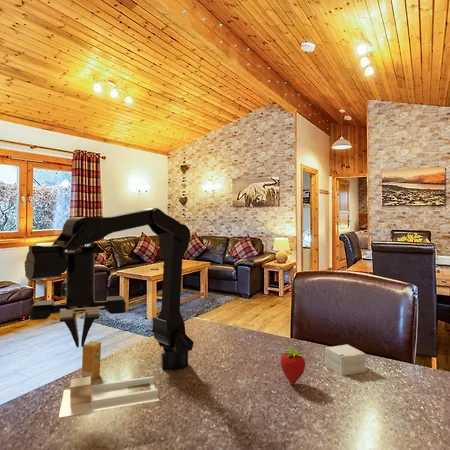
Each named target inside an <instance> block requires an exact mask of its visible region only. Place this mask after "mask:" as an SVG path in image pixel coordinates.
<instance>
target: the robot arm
mask: <svg viewBox="0 0 450 450" xmlns="http://www.w3.org/2000/svg"><path fill="white" fill-rule="evenodd" d="M144 226H148V227H149V228H150V230H151V231H152V232H153V234H155V235H156V236H158V244H159V248H160V250H161V252H162V254H163V271H162V274H163V275H162V288H161V291H162V292H161V310H160V312H159V314H158V315H157V317H156V316H153V317H152V328H151V333H153V338H154V339H155V340H156V342H157V343H158V346H159V347H161V348H162V353H161V354H160V367H161V370H165V371H167V370H169V371H179V370H183V369H185V368H188V367H189V352H190V351H192V350H193V346H194V344H195V343H194V340H192V339H191V337H189V335H187V334H186V324H185V320H184V318H183V315H182V313H181V297H182V296H181V295H182V274H183V259H184V258H183V257H184V256H185V253H186V252H187V251H188V249H189V246H190V240H191V230H190V228H188V226H187V225H186V224H183V223H181V222H180V221H178V220H176V219H175V218H173V217H172V216H170V215H167V214H166V213H165V212H164V211H163V210H161V208H159V207H150V208H149V207H148V208H144V209H142V210H137V211H136V210H135V211H131V212H123V213H120V214H114V215H109V216H105V217H102V216H101V217H100V216H99V217H98V216H97V217H96V216H94V217H93V216H92V217H91V216H86V217H85V216H81V217H80V216H76V217H75V216H73V217H70V218H67V219H66V220H65V222H64V223H63V226H62V232H61V233H60V234H59V235H58V237H57V238H56V239H55V240H54V241H53V243H52V244H51V245H37V244H31V245H28V252H27V253H26V257H25V260H24V271H25V276H26V278H27V280H28V281H31V280H32V281H33V280H44V279H52V278H53V279H54V278H60V277H62V274H65V282H61V285H60V297H61V298H65V303H55V300H54V299H46V300H36V301H35V302H34V303H33V304H32V305H31V307H30V309H29V320H30V321H39V320H47V319H48V318H50V317H51V316H52V314H59V315H60V316H59V322H60V323H64V324H65V325H66V326H67V329H68V330H69V332H70V335H71V336H72V339H73V341H74V344H75V346H76V348H79V347H80V345H81V348H83V346H84V344H86V340H87V337H88V335H89V334H88V333H89V332H90V329H91V327H92V325H93V323H94V321H95V320H98V319H100V312H101V311H103V310H106V311H107V313H109V314H110V315H115V314H116V315H117V314H125V313H126V312H127V309H126V308H127V307H126V306H127V303H126V299H125V298H124V297H123V296H122V295H113V296H106V300H100V301H96V300H95V299H96V296H95V293H96V291H95V289H96V288H95V257H96V256H95V254H104V253H105V249H103V248H102V247H101V246H100V245H99V244H98V242H97V241H100V240H102V239H104V238H105V237H107V236H108V235H111V234H113V233H117V232H118V233H119V232H123V231H125V230H130V229H136V228H140V227H144ZM84 245H85V246H84ZM77 312H78V313H79V312H85V313H84V320H83V328H82V334H81V343H80V337H79V330H78V321H77V320H78V318H77Z"/></svg>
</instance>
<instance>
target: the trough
mask: <svg viewBox="0 0 450 450" xmlns="http://www.w3.org/2000/svg"><path fill="white" fill-rule="evenodd" d="M154 381H155V380H154V376H153V375H151V376H145V377H139V378H132V379H123V380H118V381H111V382H110V381H109V382H104V383H97V384H91V403H85V404H79V405H73V406H70V388H68V389H64V390H63V394H62V398H61V405H60V408H59V415H58V418H65V417H71V416H77V415H83V414H89V413H94V412H101V411H107V410H113V409H114V410H115V409H118V408H125V407H131V406H134V405H135V406H136V405H142V404H147V403H148V404H149V403H155V402H160V398H159V389H158V388H156V386H155V383H154ZM147 384H149V387H150V389H149V390H148V389H146V390H142V391H134V392H130V391H129V387H134V386H140V385H147Z"/></svg>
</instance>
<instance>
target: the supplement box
mask: <svg viewBox="0 0 450 450" xmlns="http://www.w3.org/2000/svg"><path fill="white" fill-rule="evenodd" d="M101 350H102V342H100V341H94V340H93V341H92V340H89V341H88V342H87V343H86V342H85V343H84V346H83V347H82V359H81V361H82V362H81V363H82V364H81V378H83V377H90V376H91V382H92V381H95V380H96V379H98V377H100V375H101V356H102V355H101V352H102V351H101Z"/></svg>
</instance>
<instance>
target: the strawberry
mask: <svg viewBox="0 0 450 450" xmlns="http://www.w3.org/2000/svg"><path fill="white" fill-rule="evenodd" d="M296 345H297V344H295V346H294V347H293V349H291V348H287V350H284V351H283V352H284V353H283V354H282V355H281V357H280V365H281V369H282V371H283V374H284V376H285V378H286V379H287V381H288V382H289V384H290V385H292V386H293V385H295V384H296V383H297V381H298V380H300V378H301V376H302V375H304V372H305V369H306V361H305V358H304V357H303V355H302V354H304V352H303V351H297V350H296V349H295V347H296Z"/></svg>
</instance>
